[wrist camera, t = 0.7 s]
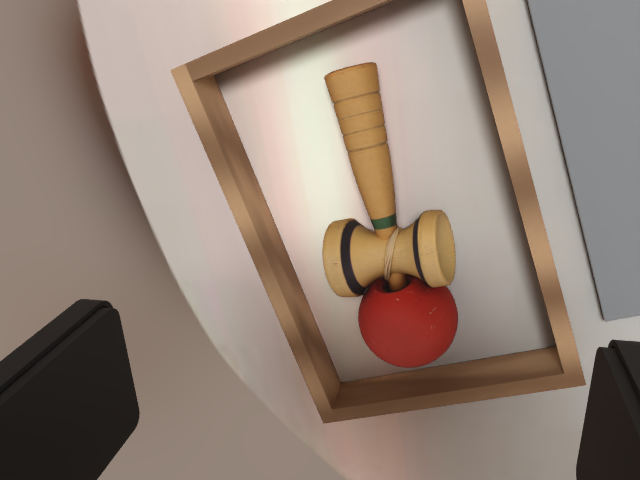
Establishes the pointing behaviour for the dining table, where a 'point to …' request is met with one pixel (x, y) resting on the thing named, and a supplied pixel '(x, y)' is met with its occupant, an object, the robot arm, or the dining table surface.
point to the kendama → (388, 240)
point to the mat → (599, 132)
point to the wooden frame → (280, 278)
